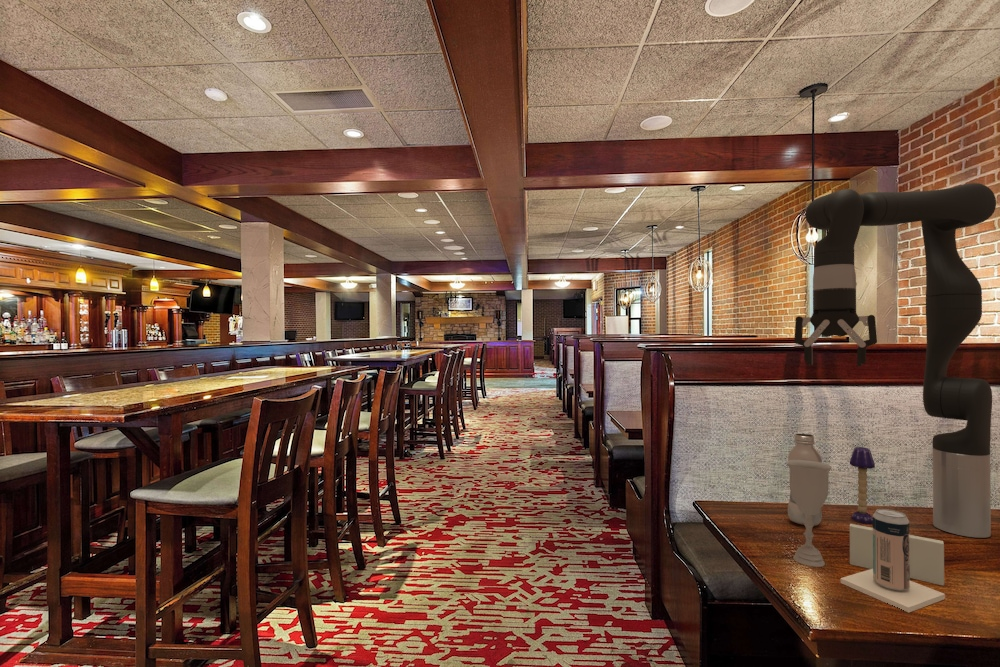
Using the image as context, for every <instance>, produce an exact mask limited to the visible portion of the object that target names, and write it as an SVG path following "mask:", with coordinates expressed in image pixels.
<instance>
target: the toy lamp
mask: <svg viewBox="0 0 1000 667" xmlns="http://www.w3.org/2000/svg"><path fill="white" fill-rule="evenodd" d="M849 465H850V466H852V467H856V468H857V472H858V474H857V478H858V480H857V483H858V484H857V485H858V486H857V491H858V493H857V504H858V506H857V511H855V512H853V513H852V515H851V518H850V519H851V520H852V521H854V522H856V521H857V523H860V522H861V524H865V523H866V524H865V525H871V524H872V525H873V515H871V514H870V513H868V508H867V506H868V502H867V501H868V500H867V499H868V494H867V493H868V487H867V486H868V480H867V479H868V469H874V468H875V467H876V466H875V461H874V458H873V454H872V451H871V450H870V449H869V448H868V447H863V446H856V447H854V448H853V451H852V453H851V457H850V459H849Z"/></svg>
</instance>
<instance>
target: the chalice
mask: <svg viewBox="0 0 1000 667" xmlns="http://www.w3.org/2000/svg"><path fill="white" fill-rule="evenodd" d="M786 465H787V466H788V469H789V492H790V491H791V493H792V496H793V499H794V500H795V502H796V504H797V506H798V508H799V510H800V511H801V512H803V513H805V516H806V520H805V523H804V525H803V526H804V527H805V531H804V532H803V533H802V534H803V535H804V537H805V542H804V543H803V544H802V545H800V546H799V547H797V550H796V551H795V554H794V556H793V560H794V561H796V562H797V563H799V564H801V565H804V566H808V567H817V568H818V567H819V568H820V567H824V566H825V565H826V562H825V561H824V558H823V556H822V554H821V551H820V550H819V549H818V548H817V547H815V546H814V544H813V538H814V537H815V534H814V533H813V531H812V530H813V527H815V526H814V525H813V523H812V515H814V514H818V512H819V511H820V509H821V510H822V507H823V506H824V505H825V503H826V500H827V498H828V496H829V473H830V472H831V469H833V468H832V465H830V464H827V463H823V462H822V463H820V462H815V461H806V460H789V461H788V460H786Z"/></svg>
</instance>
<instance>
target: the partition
mask: <svg viewBox="0 0 1000 667" xmlns="http://www.w3.org/2000/svg"><path fill="white" fill-rule="evenodd" d="M909 560H910V579H912V580H917V581H922V582H925V583H930V584H934V585H939V586H943V587H944V586H945V544H944V541H943V540H938V539H934V538H929V537H924V536H923V537H922V536H917V535H913V534H909ZM849 565H852V566H856V567H860V568H865V569H868V570H870V569H873V527H869V526H865V525H860V524H854V523H850V524H849Z"/></svg>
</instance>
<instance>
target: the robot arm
mask: <svg viewBox="0 0 1000 667" xmlns="http://www.w3.org/2000/svg"><path fill="white" fill-rule="evenodd" d="M996 207H997V199H996V196H995V193H994V192H993V190H992V189H991V188H990V187H988V186H987V185H985V184H983V183H979V182H971V183H965V184H964V183H963V184H960V185H956V186H953V187H948V188H942V189H941V188H940V189H932V190H920V191H881V192H880V191H879V192H878V191H873V192H870V191H869V192H865V193H862V194H861V193H858V191H856V190H854V189H852V188H844V189H843V188H842V189H840V190H836V191H834V192H831V193H828V194H825V195H822V196H819V197H817V198H815V199H813V200H812V201H811V202H810V203H809V204H808V205H807V207H806V210H805V212H804V217H805V220H806V222H807V223H808V224H809V226H810V227H812V228H814V229H817V230H821V231H826V230H827V233H826V235H825V237H823V238H821V239H819V241H817V242H815V244H814V249H813V251H814V252H813V255H814V256H813V267H814V268H813V276H812V314H811V317H805V316H796V317H795V322H794V323H795V325H794V339H793V340H794V341H793V342H794V344H797V345H800V346H802V347H803V350H804V351H803V354H804V356H803V357H804V358H803V359H804V362H805V363H807V365H809V366H813V363H814V360H813V359H814V358H813V357H814V356H813V355H814V353H813V352H814V351H813V350H814V349H813V348H814V347H812V346H813V344H814V343H815V342H816V341H817V340H818V339H819V338H820V337H822V336H824V337H832V336H836V337H845V336H849V337H850V339H852V340H853V341H854V342H855V344H856V345H857V348H856V366H857V367H863V365H864V364H865V363H866V361H867V357H866V356H867V348H868V347H869V346H874V345H876V344H877V343H878V339H877V338H878V337H877V336H878V335H877V324H876V317H875V315H874V314H870V315H862V316H859V314H858V313H857V284H858V283H857V275H856V269H855V246H856V245H855V244H856V242H857V241H856V240H857V238H858V235H859V231H860V229H861V227H882V226H883V227H884V226H895V225H901V224H902V225H903V224H909V223H915V222H916V223H917V222H921V230H922V232H921V233H922V237H923V238H922V239H923V247H924V253H925V276H926V277H925V279H926V280H925V281H926V282H925V284H926V285H925V324H926V326H925V327H926V332H925V333H926V351H925V352H926V353H925V362H924V363H925V365H924V375H923V383H922V384H923V386H922V404H923V409H924V411H925V412H926V414H927V415H928V416H930V417H933V418H940V419H950V420H957V421H958V420H960V421H966V424H965V425H966V426H965V427H963V428H961V429H960V430H956V431H953V432H946V433H939V434H936V435H933V436H932V523H933V524H932V525H933V527H935V528H937V529H939V530H942V531H944V532H946V533H950V534H954V535H958V536H963V537H966V538H967V537H968V538H976V539H977V538H978V539H982V538H983V539H985V538H989V537H991V536H992V532H991V530H992V528H991V524H992V522H991V520H992V519H991V513H992V512H991V511H992V510H991V509H992V506H991V504H992V503H991V501H992V500H991V493H992V492H991V432H992V431H991V429H992V428H991V424H992V413H993V412H992V410H993V409H992V408H993V390H992V388H991V385H990V383H989V381H987V380H985V379H983V378H977V377H975V378H974V377H973V378H972V377H957V376H956V377H954V376H947V373H948V368H949V364H950V361H951V358H952V357H953V355H954V354H955V352H956V351H957V349H958V348H959V347H960V345H961V344H963V342H964V341H965V340H966V339H967V337H968V336H970V334H971V333H972V332H973V330H974V329H975V328H976V327H977V326H978V324H979V323H980V321H981V319H982V316H983V296H982V295H983V290H982V285H981V283H980V281H979V279H978V278H977V277H976V276H975V274H974V273H973V272H972V270H971V269H970V268H969V267H968V266H967V264H966V263H965V262H964V261H963V259H962V258H961V256H960V254H959V252H958V249H957V240H956V233H957V232H956V231H957V230H959V229H963V228H969V227H973V226H976V225H979V224H982V223H983V222H985V221H987V220H989V219H990V218H991V217H992V216H993V215H994V213H995V211H996ZM859 322H862V323H863V326H865V327H868V339H866V340H863V338H861V337H860V336H859V334H858V333H857V332H856V331H855V330H854V328H855V327H856V326H857V325H858V323H859ZM808 323H811V324H812V326H813V327H814V328H815V330H814V331H813V332H812V333H811V334H810V336H809V337H808V338H807V339H806V340H805V339H803V335H804V333H803V332H804V328H805V327H807V325H808ZM862 364H863V365H862Z"/></svg>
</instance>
